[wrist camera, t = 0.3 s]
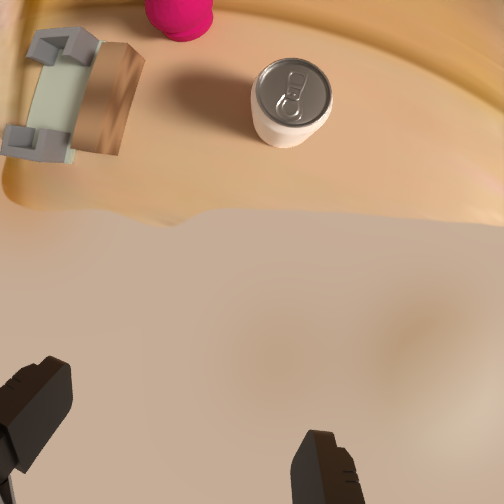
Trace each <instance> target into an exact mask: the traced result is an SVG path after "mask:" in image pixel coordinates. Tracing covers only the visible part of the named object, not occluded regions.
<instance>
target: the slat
mask: <svg viewBox="0 0 504 504" xmlns="http://www.w3.org/2000/svg"><path fill="white" fill-rule="evenodd" d="M144 63H145V59H144V58H143V57H142V56H141V55H140V54H139V53H138V52H136V51H135V50H134V49H133V48H132V47H131V46H130V45H129V44H128V43H117V42H102V43H101V46H100V49H99V51H98V54H97V57H96V60H95V62H94V65H93V68H92V71H91V74H90V77H89V80H88V83H87V86H86V90H85V93H84V96H83V100H82V103H81V107H80V110H79V114H78V118H77V122H76V125H75V129H74V134H73V138H72V142H71V146H70V149H76V150H81V151H87V152H92V153H100V154H108V155H116V156H118V153H119V149H120V145H121V141H122V137H123V133H124V129H125V125H126V122H127V118H128V114H129V111H130V107H131V104H132V101H133V97H134V94H135V91H136V87H137V84H138V81H139V78H140V75H141V72H142V69H143V66H144Z"/></svg>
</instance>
